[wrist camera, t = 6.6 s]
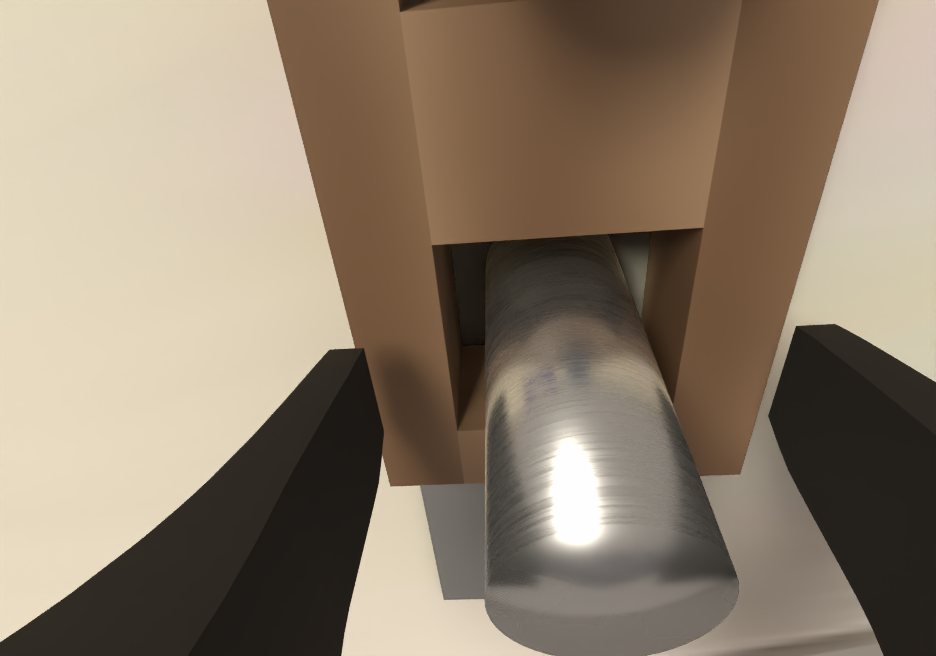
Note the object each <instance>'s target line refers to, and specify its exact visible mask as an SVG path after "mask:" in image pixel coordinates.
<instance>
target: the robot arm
mask: <svg viewBox="0 0 936 656" xmlns="http://www.w3.org/2000/svg"><path fill="white" fill-rule="evenodd" d="M768 417H769V420H770V422H771V425H772V428H773V431H774V434H775V437H776V440H777V442H778V445H779V448H780V450H781V453H782V455H783V458H784V461H785V463H786V466H787V468H788V471H789V473H790V474H791V476H792V478H793V480H794V482H795V484H796V486H797V488H798V490H799V492H800V493H801V495H802V497H803V499H804V501H805V503H806V505H807V507H808V508H809V510H810V512H811V514H812V516H813V518H814V520H815V521H816V523H817V525H818V527H819V529H820V531H821V532H822V534H823V536H824V538H825V540H826V541H827V543H828V545H829V547H830V549H831V551H832V552H833V554H834V556H835V558H836V560H837V562H838V563H839V565H840V567H841V569H842V571H843V573H844V574H845V576H846V578H847V580H848V582H849V584H850V585H851V587H852V589H853V591H854V593H855V595H856V596H857V598H858V600H859V602H860V604H861V606H862V609H863V611H864V613H865V615H866V617H867V619H868V621H869V623H870V625H871V627H872V629H873V631H874V634H875V636H876V638H877V641H878V643H879V645H880V648H881V650H882V652H883V655H884V656H936V382H934V381H933V380H931V379H929V378H928V377H926V376H924V375H923V374H921V373H919V372H918V371H916V370H914V369H913V368H911V367H909V366H908V365H906V364H904V363H903V362H901V361H899V360H898V359H896V358H894V357H893V356H891V355H889V354H888V353H886V352H884V351H883V350H881V349H879V348H877V347H876V346H874V345H872V344H871V343H869V342H867V341H866V340H864V339H862V338H860V337H859V336H857V335H855V334H853V333H851V332H849V331H848V330H846V329H844V328H842V327H840V326H838V325H836V324H827V325H807V326H796V328H795V331H794V334H793V338H792V341H791V344H790V347H789V351H788V354H787V357H786V360H785V364H784V367H783V370H782V373H781V377H780V380H779V383H778V386H777V390H776V393H775V396H774V399H773V403H772V406H771V409H770V412H769V415H768ZM383 439H384V428H383V424H382V420H381V416H380V412H379V408H378V404H377V400H376V396H375V391H374V387H373V383H372V379H371V375H370V371H369V367H368V363H367V359H366V354H365V350H364V348H354V349H334V350H329V351H328V352H327V353H326V354H325V355H324V357H323V358H322V359H321V360H320V361H319V362H318V363H317V364H316V365H315V367H314V368H313V369H312V370H311V371H310V372H309V373H308V374H307V376H306V377H305V378H304V379H303V380H302V381H301V383H300V384H299V385H298V386H297V387H296V388H295V389H294V391H293V392H292V393H291V394H290V395H289V396H288V397H287V399H286V400H285V401H284V402H283V403H282V404H281V405H280V407H279V408H278V409H277V410H276V411H275V412H274V413H273V414H272V415H271V416H270V417H269V419H268V420H267V421H266V422H265V423H264V424H263V425H262V426H261V427H260V428H259V430H258V431H257V432H256V433H255V434H254V435H253V436H252V437H251V438H250V439H249V440H248V441H247V442H246V443H245V444H244V445H243V446H242V447H241V448H240V449H239V450H238V451H237V452H236V453H235V454H234V455H233V456H232V457H231V458H230V459H229V460H228V461H227V462H226V463H225V464H224V465H223V466H222V467H221V468H220V469H219V470H218V471H217V472H216V473H215V475H214V476H213V477H212V478H211V479H210V480H208V481H207V482H206V483H205V484H204V485H203V486H202V487H201V488H200V489H199V490H198V491H197V492H196V493H194V494H193V495H192V496H191V497H190V498H189V499H188V500H187V501H186V502H184V503H183V504H182V505H181V506H180V507H179V508H178V509H177V510H175V511H174V512H173V513H172V514H171V515H170V516H168V517H167V518H166V519H165V520H164V521H162V522H161V523H160V524H159V525H158V526H157V527H155V528H154V529H153V530H152V531H151V532H150V533H148V534H147V535H146V536H145V537H144V538H142V539H141V540H140V541H139V542H137V543H136V544H135V545H134V546H132V547H131V548H130V549H128V550H127V551H126V552H124V553H123V554H122V555H120V556H119V557H118V558H117V559H115V560H114V561H113V562H111V563H110V564H109V565H107V566H106V567H105V568H103V569H102V570H101V571H100V572H98V573H97V574H96V575H94V576H93V577H92V578H90V579H89V580H88V581H86V582H85V583H84V584H83V585H81V586H80V587H79V588H77V589H76V590H75V591H73V592H72V593H71V594H69V595H68V596H67V597H65V598H64V599H62V600H61V601H60V602H58V603H57V604H55V605H54V606H52V607H51V608H50V609H48V610H47V611H45V612H44V613H42V614H41V615H40V616H38V617H37V618H35V619H34V620H32V621H31V622H30V623H28V624H27V625H25V626H24V627H22V628H21V629H19V630H18V631H16V632H15V633H13V634H12V635H10V636H9V637H7V638H6V639H4V640H3V641H1V642H0V656H341V653H342V646H343V639H344V632H345V627H346V622H347V617H348V612H349V607H350V603H351V598H352V594H353V590H354V586H355V582H356V578H357V573H358V569H359V565H360V561H361V557H362V552H363V548H364V544H365V540H366V536H367V532H368V527H369V523H370V519H371V515H372V510H373V506H374V502H375V497H376V493H377V489H378V484H379V476H380V468H381V459H382V449H383Z"/></svg>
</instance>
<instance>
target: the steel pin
mask: <svg viewBox="0 0 936 656" xmlns="http://www.w3.org/2000/svg"><path fill="white" fill-rule="evenodd" d="M738 593H739V581H738V578H737V575H736V572H735V569H734V566H733V564H732V561H731V558H730V556H729V553H728V550H727V548H726V545H725V542H724V540H723V537H722V534H721V532H720V529H719V526H718V524H717V521H716V519H715V516H714V513H713V511H712V508H711V505H710V503H709V500H708V497H707V495H706V492H705V489H704V487H703V484H702V481H701V479H700V476H699V473H698V471H697V468H696V465H695V463H694V460H693V457H692V455H691V452H690V449H689V447H688V444H687V441H686V439H685V436H684V433H683V431H682V428H681V425H680V423H679V420H678V418H677V415H676V412H675V410H674V407H673V404H672V402H671V399H670V396H669V394H668V391H667V388H666V386H665V383H664V380H663V378H662V375H661V372H660V370H659V367H658V364H657V362H656V359H655V356H654V354H653V351H652V348H651V346H650V343H649V340H648V338H647V335H646V332H645V330H644V327H643V324H642V322H641V319H640V317H639V314H638V311H637V309H636V306H635V303H634V301H633V298H632V295H631V293H630V290H629V287H628V285H627V282H626V279H625V277H624V274H623V271H622V269H621V266H620V263H619V261H618V258H617V255H616V253H615V250H614V247H613V245H612V242H611V240H610V238H609V236H608V234H598V235H582V236H567V237H551V238H536V239H520V240H504V241H493V242H492V244H491V246H490V248H489V251H488V254H487V258H486V320H485V607H486V611H487V614H488V616H489V618H490V620H491V621H492V623H493V624H494V625H495V626H496V628H497V629H499V630H500V631H501V632H502V633H503V634H504V635H506V636H507V637H509V638H510V639H512V640H513V641H515V642H517V643H519V644H521V645H523V646H525V647H528V648H530V649H533V650H535V651H539V652H542V653H545V654H549V655H554V656H647V655H652V654H656V653H660V652H664V651H667V650H670V649H674V648H676V647H679V646H681V645H684V644H687V643H689V642H691V641H693V640H695V639H697V638H699V637H701V636H702V635H704V634H706V633H707V632H709V631H711V630H712V629H713V628H715V627H716V626H717V625H718V624H720V623H721V622H722V621H723V620H724V619H725V618H726V617H727V615H728V614H729V613H730V611H731V610H732V609H733V607H734V605H735V603H736V601H737V597H738Z"/></svg>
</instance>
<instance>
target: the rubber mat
mask: <svg viewBox="0 0 936 656" xmlns="http://www.w3.org/2000/svg"><path fill="white" fill-rule="evenodd" d="M420 487H421V491H422V496H423V501H424V506H425V511H426V516H427V520H428V525H429V530H430V535H431V540H432V545H433V549H434V554H435V559H436V564H437V569H438V574H439V578H440V583H441V588H442V593H443V598H444V600H457V599H485V483H473V484H444V485H420Z"/></svg>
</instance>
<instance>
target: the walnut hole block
mask: <svg viewBox="0 0 936 656" xmlns="http://www.w3.org/2000/svg"><path fill="white" fill-rule="evenodd" d="M878 1H879V0H267V3H268V7H269V11H270V15H271V19H272V23H273V26H274V30H275V34H276V38H277V42H278V46H279V50H280V54H281V58H282V62H283V66H284V70H285V74H286V78H287V81H288V85H289V89H290V93H291V97H292V101H293V105H294V109H295V113H296V117H297V121H298V125H299V129H300V133H301V137H302V140H303V144H304V148H305V152H306V156H307V160H308V164H309V168H310V172H311V176H312V180H313V184H314V188H315V192H316V195H317V199H318V203H319V207H320V211H321V215H322V219H323V223H324V227H325V231H326V235H327V239H328V243H329V247H330V250H331V254H332V258H333V262H334V266H335V270H336V274H337V278H338V282H339V286H340V290H341V294H342V298H343V302H344V306H345V309H346V313H347V317H348V321H349V325H350V329H351V333H352V337H353V341H354V345H355V348H364V350H365V354H366V359H367V363H368V367H369V371H370V375H371V379H372V383H373V387H374V391H375V396H376V400H377V404H378V408H379V412H380V416H381V420H382V424H383V428H384V439H383V449H382V455H383V459H384V463H385V467H386V471H387V475H388V478H389V482H390V486H415V485H444V484H473V483H485V345H470V346H462V341H461V333H460V324H459V316H458V307H457V298H456V290H455V281H454V272H453V264H452V255H451V246H450V244H458V243H473V242H489V241H504V240H520V239H536V238H551V237H567V236H582V235H598V234H613V233H629V232H644V231H651V238H650V247H649V256H648V265H647V274H646V283H645V291H644V300H643V309H642V318H641V322H642V324H643V327H644V330H645V332H646V335H647V338H648V340H649V343H650V346H651V348H652V351H653V354H654V356H655V359H656V362H657V364H658V367H659V370H660V372H661V375H662V378H663V380H664V383H665V386H666V388H667V391H668V394H669V396H670V399H671V402H672V404H673V407H674V410H675V412H676V415H677V418H678V420H679V423H680V425H681V428H682V431H683V433H684V436H685V439H686V441H687V444H688V447H689V449H690V452H691V455H692V457H693V460H694V463H695V465H696V468H697V471H698V473H699V476H706V475H735V474H740V473H741V469H742V466H743V462H744V459H745V456H746V452H747V449H748V445H749V442H750V438H751V435H752V432H753V428H754V425H755V421H756V418H757V415H758V411H759V408H760V404H761V401H762V397H763V394H764V391H765V387H766V384H767V380H768V377H769V374H770V370H771V367H772V363H773V360H774V356H775V353H776V350H777V346H778V343H779V339H780V336H781V333H782V329H783V326H784V322H785V319H786V315H787V312H788V309H789V305H790V302H791V298H792V295H793V292H794V288H795V285H796V281H797V278H798V274H799V271H800V268H801V264H802V261H803V257H804V254H805V251H806V247H807V244H808V240H809V237H810V233H811V230H812V227H813V223H814V220H815V216H816V213H817V210H818V206H819V203H820V199H821V196H822V192H823V189H824V186H825V182H826V179H827V175H828V172H829V169H830V165H831V162H832V158H833V155H834V151H835V148H836V145H837V141H838V138H839V134H840V131H841V128H842V124H843V121H844V117H845V114H846V110H847V107H848V104H849V100H850V97H851V93H852V90H853V87H854V83H855V80H856V76H857V73H858V69H859V66H860V63H861V59H862V56H863V52H864V49H865V46H866V42H867V39H868V35H869V32H870V28H871V25H872V22H873V18H874V15H875V11H876V8H877V5H878Z"/></svg>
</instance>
